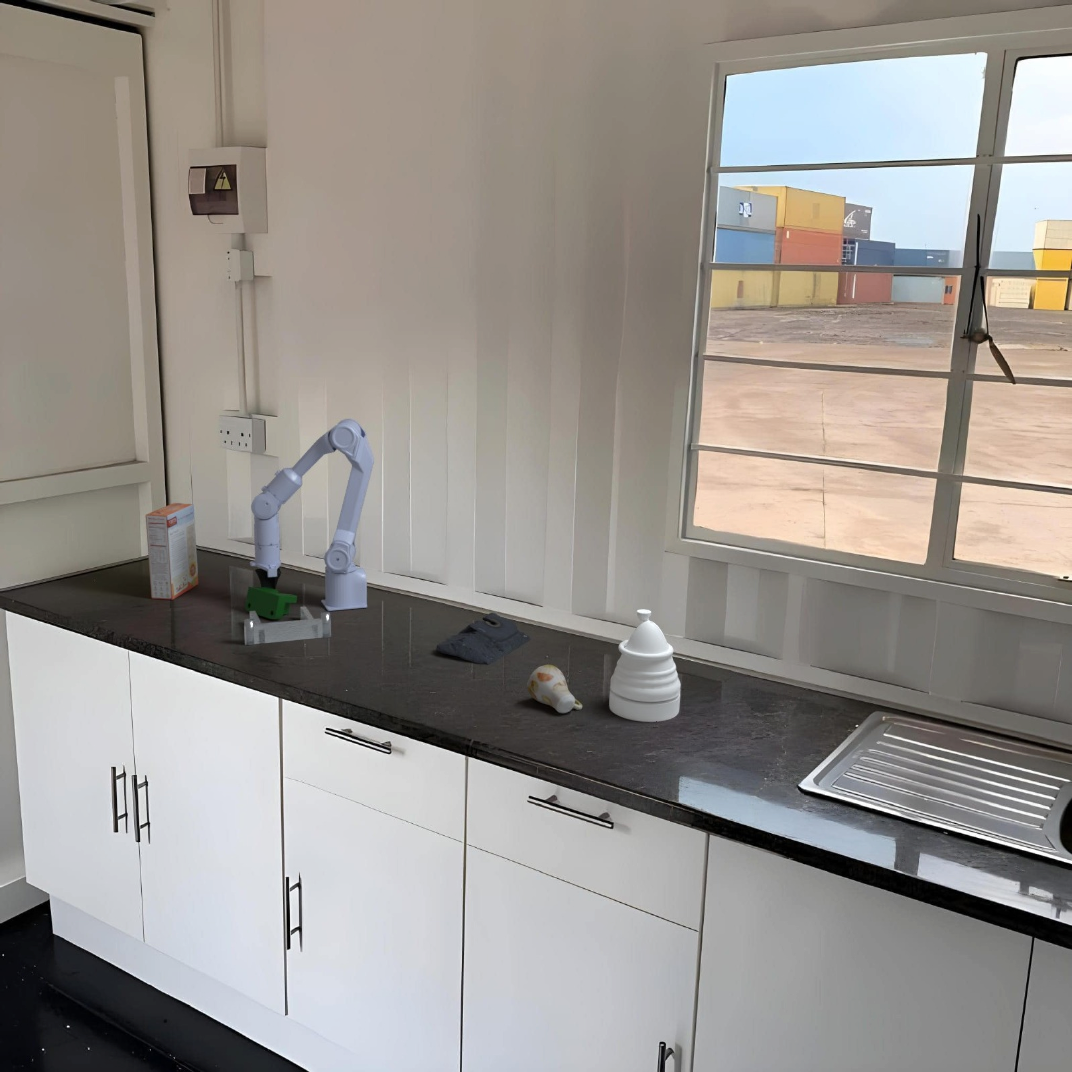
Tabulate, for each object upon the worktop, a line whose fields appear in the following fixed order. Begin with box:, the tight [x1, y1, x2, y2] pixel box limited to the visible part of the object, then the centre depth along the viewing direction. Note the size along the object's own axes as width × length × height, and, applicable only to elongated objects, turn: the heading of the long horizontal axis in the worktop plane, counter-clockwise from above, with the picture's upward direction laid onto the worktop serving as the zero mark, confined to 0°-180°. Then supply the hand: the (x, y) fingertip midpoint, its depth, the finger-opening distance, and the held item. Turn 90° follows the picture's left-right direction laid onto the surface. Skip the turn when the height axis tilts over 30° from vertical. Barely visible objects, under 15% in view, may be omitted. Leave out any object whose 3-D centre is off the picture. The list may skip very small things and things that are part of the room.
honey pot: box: [608, 608, 682, 723], centre depth 189 cm, size 13×13×18 cm
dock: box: [243, 606, 332, 646], centre depth 226 cm, size 18×14×5 cm
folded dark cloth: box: [436, 612, 531, 665], centre depth 222 cm, size 15×22×5 cm
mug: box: [526, 664, 583, 714], centre depth 190 cm, size 8×10×10 cm
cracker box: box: [145, 502, 199, 601], centre depth 251 cm, size 14×6×21 cm, turn 172°
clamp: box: [244, 586, 298, 620], centre depth 238 cm, size 12×6×9 cm, turn 46°
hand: (268, 598), depth 246 cm, fingers closed
